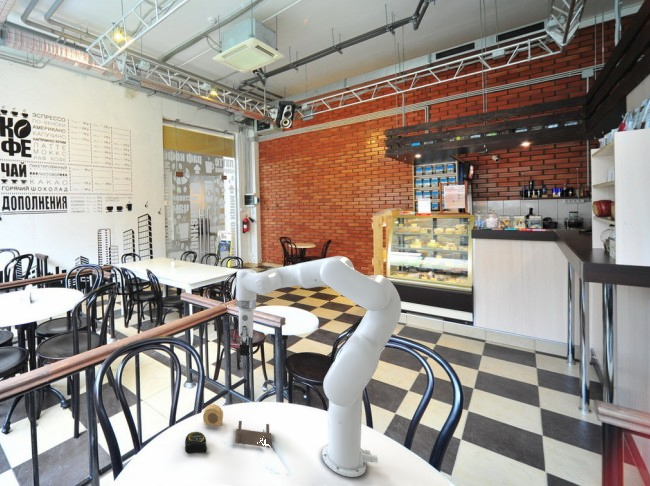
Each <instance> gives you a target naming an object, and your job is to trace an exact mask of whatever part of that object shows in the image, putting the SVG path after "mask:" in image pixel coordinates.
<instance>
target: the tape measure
mask: <svg viewBox="0 0 650 486" xmlns="http://www.w3.org/2000/svg"><path fill="white" fill-rule="evenodd" d="M184 452H185V453H186V454H206V453H207V438H206V435H205V434H204V433H203V432H201V431H191V432H189V433H188V434H187V435H186V436H185V441H184Z"/></svg>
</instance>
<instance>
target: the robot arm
mask: <svg viewBox="0 0 650 486" xmlns="http://www.w3.org/2000/svg"><path fill="white" fill-rule="evenodd" d="M235 277H236V280H235V282H236V284H235V308H236V309H238V336H239V338H240V343H239V356H243V357H248V356H250V343H251V339H252V338H253V336H254V310H256V309H257V294H258V295H263V296H265V295H268V294H270V293H272V292H274V291H276V290H278V289H285V288H291V287H301V288H302V289H312V288H313V289H314V288H318V287H325V286H328V288H330V289H332V290H333V291H335V292H336V293H337V294H339V295H341V296H342V297H344V298H346V299H347V300H349V301H351V302H352V303H354V304H356V305H358V306H359V307H361V308H363V309H364V310H366V312H365V314H364V316H363V317H362V319H361V320H360V323H359V324H358V325H357V327H356V328H355V330H354V332H353V333H352V335H350V337H349V338H348V339H347V340H346V342H345V344H344V346H343V347H342V349H341V350H340V352H339V354H338V356H337V357H336V359H335V360H334V361H333V362H332V363H331V365H330V367H329V369H328V370H327V372H326V374H325V376H324V378H323V383H322V386H323V387H322V388H323V392H324V394H325V396H326V398H327V399H328V417H327V418H328V420H327V445H325V446H324V447H323V448H322V453H321V457H322V460H323V462H324V463H325V465H326V466H327V467H328V468H329V469H330V470H331V471H333V472H335V473H337V474H338V475H341V476H344V477H348V478H357V477H360V476H362V475H363V474H364V473H365V472H366V470H367V463H368V462H369V463H373V464H378V463H379V460H378V456H377V455H376V454H371V450H370V449H364V448H363V449H362V416H363V396H364V390H365V389H366V387H367V385H368V384H369V382H370V381H371V379H372V378H373V376H374V375H375V373H376V371H377V369H378V366H379V362H380V358H381V354H382V352H383V350H384V348H386V345H387V344H388V343H389V341H390V339H391V337H392V336H393V334H394V332H395V330H396V328H397V326H398V324H399V321H400V319H401V313H402V301H401V297H400V294H399V292H398V290H397V288H396V286H395V285H394V284H393V282H392V281H391V280H390V279H388V278H387V277H386V276H384V275H382V274H371V275H365V274H364V273H362V272H360V271H358V270H357V269H356V268H355V266H354V264H353V262H352V261H351V260H350V259H349V258H348V257H346V256H343V255H336V256H330V257H325V258H320V259H314V260H310V261H305V262H299V263H296V264H290V265H285V266H280V267H276V268H271V269H267V270H264V271H261V272H257V271H256V270H254V269H251V268H241V269H238V270H237V271H236V276H235Z"/></svg>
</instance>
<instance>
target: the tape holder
mask: <svg viewBox="0 0 650 486" xmlns="http://www.w3.org/2000/svg"><path fill="white" fill-rule="evenodd" d="M242 423H243V421H242V420H238V427H237V428H236V431H235V439H234V444H240V445H246V446H247V445H248V446H254V447H255V446H256V447H264V448H266V447H265V445H264V446H263V445H262V443H263V444H264V440H265V439H266V444H269V445H270V446H271V448H273V443H272V442H273V441H272V433H271V432H270V424H269V423H266V424H265V425H266V426H265V431H259V430H257V431H256V430H249V429H243V424H242ZM263 436H264V437H263ZM260 438H261V439H260ZM262 438H263V441H261V442H262V443H261V442H260V440H262ZM257 442H258V444H257ZM259 442H260V443H259Z"/></svg>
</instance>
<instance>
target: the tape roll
mask: <svg viewBox="0 0 650 486" xmlns="http://www.w3.org/2000/svg"><path fill="white" fill-rule="evenodd" d="M223 419H224V410H223V409H222V408H221V407H220V406H219V405H217V404H214V403H212V404H209V405H207V406H206V407H205V408H204V410H203V415H202V420H203V423H204V424H205V425H206V426H207V425H208V426H216V427H220V426H221V425H222V424H223Z"/></svg>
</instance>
